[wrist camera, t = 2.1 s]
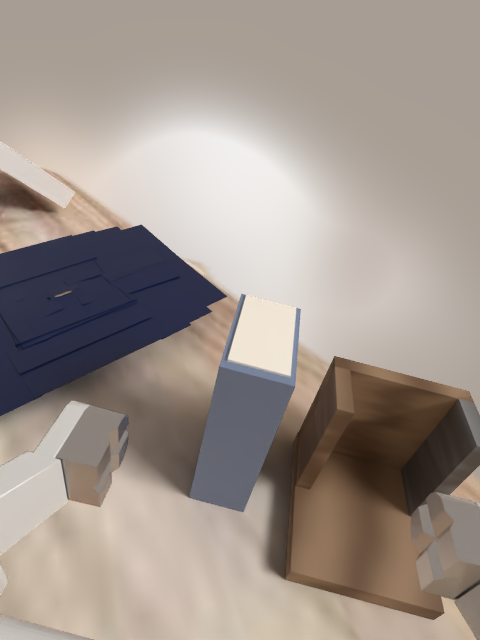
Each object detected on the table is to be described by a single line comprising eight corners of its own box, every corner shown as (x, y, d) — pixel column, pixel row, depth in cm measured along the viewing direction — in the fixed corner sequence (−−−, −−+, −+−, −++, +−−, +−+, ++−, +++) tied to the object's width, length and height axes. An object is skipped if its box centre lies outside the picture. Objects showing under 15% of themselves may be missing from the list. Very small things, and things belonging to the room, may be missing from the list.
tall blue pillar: (189, 497, 31) (219, 364, 22) (211, 419, 38) (241, 292, 29) (243, 512, 31) (296, 384, 22) (256, 431, 38) (301, 307, 29)
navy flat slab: (235, 321, 49) (237, 299, 47) (-35, 456, 33) (-52, 432, 31) (136, 235, 62) (134, 214, 59) (-94, 302, 45) (-110, 276, 43)
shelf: (284, 579, 28) (340, 499, 21) (293, 441, 38) (334, 355, 31) (433, 619, 28) (538, 552, 21) (404, 471, 37) (469, 391, 31)
